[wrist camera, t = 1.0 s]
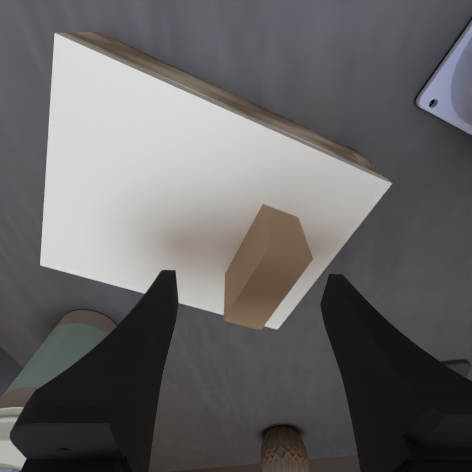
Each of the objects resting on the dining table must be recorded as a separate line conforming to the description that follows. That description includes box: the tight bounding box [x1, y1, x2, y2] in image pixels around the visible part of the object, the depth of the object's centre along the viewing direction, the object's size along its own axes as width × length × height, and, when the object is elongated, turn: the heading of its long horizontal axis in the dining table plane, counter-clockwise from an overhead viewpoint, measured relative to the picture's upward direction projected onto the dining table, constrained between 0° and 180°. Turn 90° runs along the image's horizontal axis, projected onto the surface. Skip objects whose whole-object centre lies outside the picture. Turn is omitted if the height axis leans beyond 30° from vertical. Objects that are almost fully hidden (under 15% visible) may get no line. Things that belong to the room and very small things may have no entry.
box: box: [67, 32, 384, 176], centre depth 21 cm, size 18×14×4 cm
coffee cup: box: [0, 310, 117, 470], centre depth 27 cm, size 8×9×12 cm
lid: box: [40, 33, 392, 330], centre depth 17 cm, size 18×14×5 cm
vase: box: [261, 426, 308, 472], centre depth 43 cm, size 7×7×9 cm
